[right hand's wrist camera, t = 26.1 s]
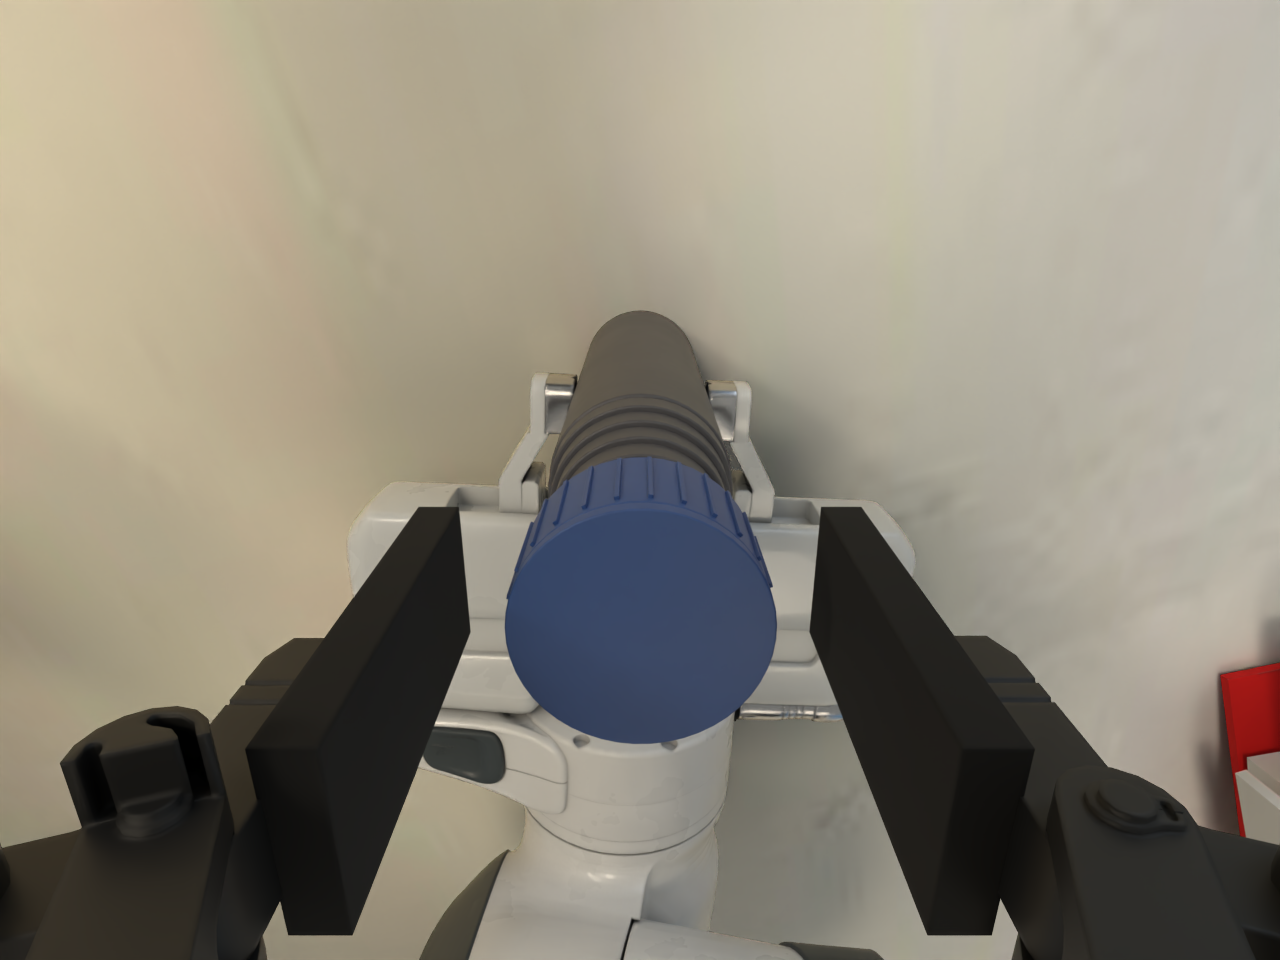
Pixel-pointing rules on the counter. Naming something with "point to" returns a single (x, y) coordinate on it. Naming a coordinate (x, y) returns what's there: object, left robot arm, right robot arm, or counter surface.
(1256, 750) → the toy
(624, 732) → the cap
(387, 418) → the counter surface
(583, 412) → the bottle
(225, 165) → the counter surface
